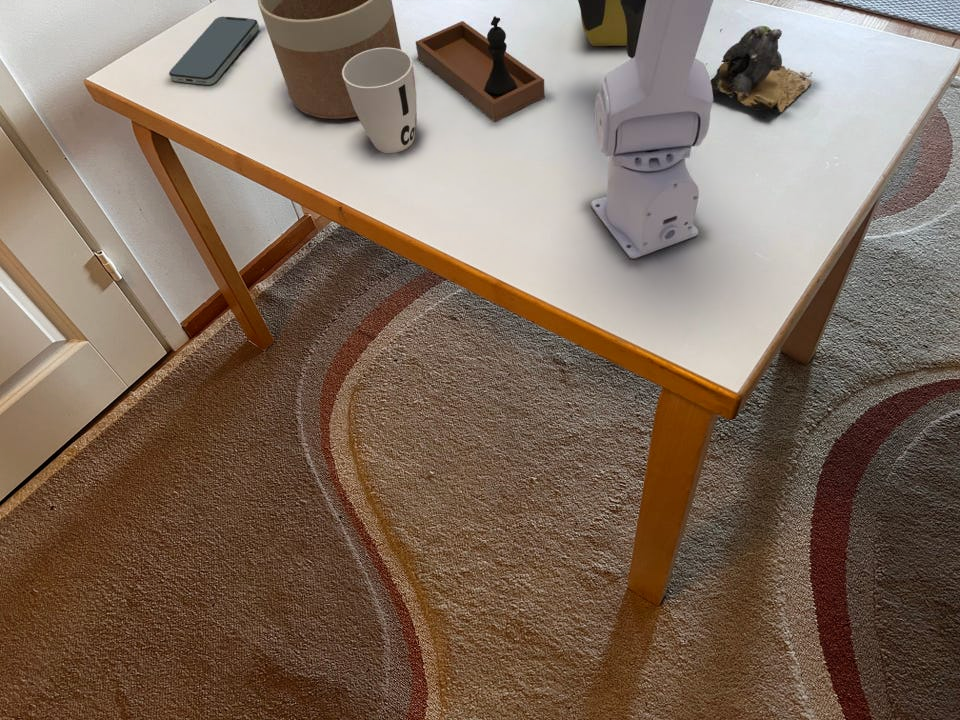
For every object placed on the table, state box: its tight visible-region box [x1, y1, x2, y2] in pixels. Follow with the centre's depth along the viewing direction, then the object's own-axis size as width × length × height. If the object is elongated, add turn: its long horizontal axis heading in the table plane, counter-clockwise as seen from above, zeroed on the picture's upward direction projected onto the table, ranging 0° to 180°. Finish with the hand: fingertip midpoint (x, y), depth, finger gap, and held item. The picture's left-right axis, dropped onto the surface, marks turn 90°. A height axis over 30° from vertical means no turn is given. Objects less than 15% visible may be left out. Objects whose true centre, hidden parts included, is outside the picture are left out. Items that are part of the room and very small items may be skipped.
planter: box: [257, 0, 402, 120], centre depth 92 cm, size 16×16×14 cm
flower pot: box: [580, 0, 627, 47], centre depth 95 cm, size 9×9×9 cm
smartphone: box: [168, 16, 260, 86], centre depth 105 cm, size 8×2×15 cm
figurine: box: [705, 25, 814, 119], centre depth 84 cm, size 10×10×10 cm
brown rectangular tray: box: [415, 20, 546, 123], centre depth 95 cm, size 19×8×3 cm, turn 34°
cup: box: [342, 48, 418, 154], centre depth 86 cm, size 8×8×10 cm
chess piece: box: [484, 15, 518, 99], centre depth 89 cm, size 4×4×10 cm
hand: (614, 40), depth 81 cm, fingers open, 7 cm apart
